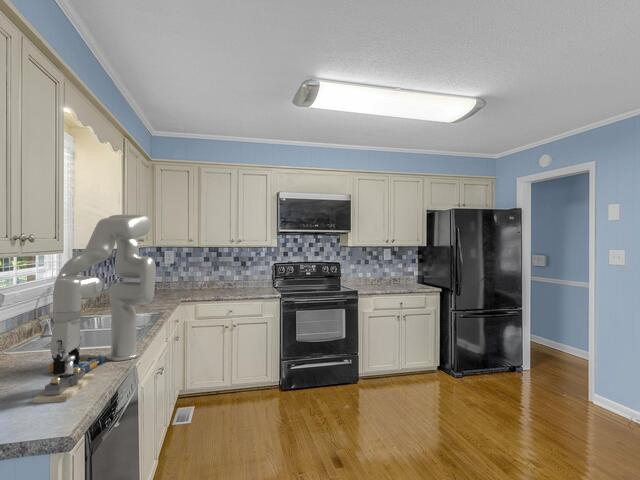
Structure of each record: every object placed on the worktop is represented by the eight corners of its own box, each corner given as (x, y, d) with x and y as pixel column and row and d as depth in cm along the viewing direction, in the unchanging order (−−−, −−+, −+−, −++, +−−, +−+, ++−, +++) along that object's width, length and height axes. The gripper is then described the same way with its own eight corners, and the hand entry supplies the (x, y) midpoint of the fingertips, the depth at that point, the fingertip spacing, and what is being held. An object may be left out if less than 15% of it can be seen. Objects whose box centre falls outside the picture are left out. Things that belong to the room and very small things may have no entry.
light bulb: (63, 382, 124) (63, 355, 124) (77, 381, 125) (77, 354, 125) (56, 386, 120) (57, 358, 120) (71, 386, 121) (71, 358, 121)
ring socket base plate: (65, 379, 131) (66, 362, 131) (93, 377, 133) (94, 360, 133) (33, 403, 111) (33, 382, 111) (66, 401, 113) (67, 381, 113)
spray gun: (36, 379, 131) (81, 379, 132) (37, 367, 131) (81, 367, 132) (71, 362, 152) (109, 362, 153) (71, 351, 152) (109, 352, 153)
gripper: (67, 311, 130) (66, 360, 130) (40, 322, 113) (39, 378, 113) (91, 311, 131) (90, 359, 131) (67, 321, 114) (66, 377, 114)
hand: (66, 368), depth 122 cm, fingers open, 9 cm apart
